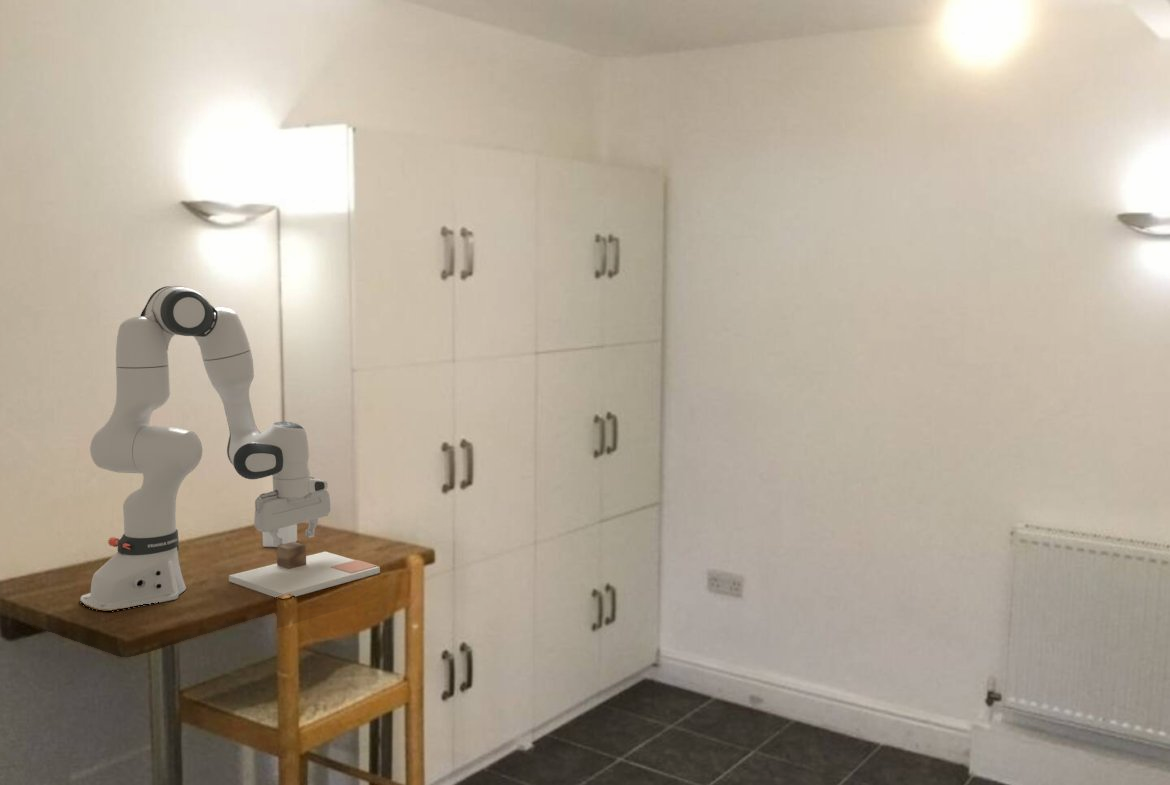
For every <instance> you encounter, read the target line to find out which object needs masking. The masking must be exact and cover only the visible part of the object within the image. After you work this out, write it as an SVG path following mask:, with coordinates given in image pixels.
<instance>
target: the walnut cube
mask: <svg viewBox="0 0 1170 785" xmlns="http://www.w3.org/2000/svg"><path fill="white" fill-rule="evenodd" d="M306 556H307V545H306V544H303V543H300V542H297V541H296V542H290V543H286V544H282V545H281V546H277V547H276V560H277V561H276V564H277V565H278V566H281V567H284V568H287V569H292V568H295V567H299V566H303V565H306Z"/></svg>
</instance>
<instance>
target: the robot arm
mask: <svg viewBox="0 0 1170 785" xmlns="http://www.w3.org/2000/svg"><path fill="white" fill-rule="evenodd" d="M243 325H244V324H243V323H242V321H241V319H240V317H239V315H238V313H237V312H236V311H234V310H233V309H231V308H228V307H214V306H213V305H212V304H211V303H210V301H208V300H207V299H206V297H205V296H204V295H202V294H201V293H200V292H199V291H196V290H195V289H192V288H190V287H189V288H188V287H186V286H183V285H182V286H181V285H168V286H167V285H166V286H163V287H161V288H159V289H157V290H155V291H154V292H153V293H152V294H151V295H150V297H149V298H148V300H147V302H146V304H145V306H144V308H143V309H142V311H141V313H140V316H132V317H130V318H128V319H125V320H124V321H122V323H121V324H120V325H119V327H118V332H117V337H116V346H115V369H116V370H115V371H116V372H115V373H116V374H115V376H116V398H115V404H114V407H113V412H112V413H111V415H110V417H109V419H108V420H107V422H106V423H105V424H104V425H103V426H102V427H101V428H100V429H98V431H96V433H95V434H94V436H93V437H92V439H91V442H90V445H89V446H90V447H89V448H90V449H89V452H90V456H91V459H92V461H93V463H94V464H95V466H97V468H100V469H102V470H107V471H110V472H114V473H118V474H121V473H122V474H123V473H124V474H142V476H143V478H142V484H141V487H140V488H138V489H137V490H135V491H133V492H131V493H130V494H129V495H128V496H127V497H126V498H125V500H124V501H123V504H122V511H123V513H122V514H123V530H124V531H123V532H124V533H123V534H122V536H121V538H120V539H119V537H118V538H116V537H114V536H112V537H111V536H110V538H108V540H107V543H108V545H109V546H111V547H114V548H117V550H116V551H117V552H116V553H115V554H114V555H112V556H111V557H110V559H108V560H107V561H106V562H105V563H104V564H103V565H102V566H101V567H99V569H98V570H96V571H95V572H94V573H93V575H92V580H91V584H90V592H88V593H85V594H82V595H81V596H80V601H82V602H83V603H84V604H86V605H89V606H91V607H94V608H98V609H108V610H112V609H117V608H125V607H130V606H136V605H143V604H149V605H152V604H151V603H154V604H158V602H159V603H164V602H169V601H173V600H177V599H178V598H179V596H180V595H181V594H183V592H185V590H186V589H187V586H186V584H185V580H184V578H183V574H182V571H181V566H180V561H179V560H180V559H179V553H178V552H179V546H180V545H179V530H178V529H177V527H176V526H177V525H176V510H177V509H176V507H177V506H176V503H177V497H178V496H177V495H178V492H179V489H180V486H182V483H183V481H184V480H185V479H186V477H187V476H188V475H189V474H190V473H191V472H193V471H194V470H195V469H197V467H198V466H199V464H200V462H201V460H202V457H203V445H202V442H201V439H200V438H199V436H198V435H197V433H195V432H194V431H192V430H188V429H185V428H181V427H176V426H159V425H158V426H156V425H155V426H154V425H150V422H151V421H150V420H151V415H152V414H153V412H154V411H156V410H157V409H159V408H161V407H163V406H164V405H165V404H166V402H167V401H168V400H169V398H170V394H171V392H170V391H171V390H170V370H169V366H170V365H169V355H168V351H169V345H170V342H171V340H172V338H173V337H174V336H183V337H193V338H194V339H195V340H196V342H197V345H198V346H199V350H200V354H201V358H202V362H203V366H204V369H205V372H206V374H207V376H208V379H209V380H210V381H209V382H210V383H211V385H212V387H213V388H214V390H215V391H216V393H218V395H219V397H220V399H221V401H222V404H223V408H224V413H225V417H226V421H227V425H228V431H229V437H228V440H227V441H228V442H227V446H226V452H227V459H228V461H229V462H230V463H231V464H232V466H233V468H234V470H235V471H236V472H237V473H238V475H239V476H241V477H242V478H244V479H248V480H258V479H263V478H267V477H270V476H272V491H269V492H265V493H261V494H259V496H258V497H256V499H255V501H254V520H253V522H254V523H253V525H254V528H255V529H256V530H257V531H258V532H268V531H269V534H270V535H271V537H272V538H273V544H274V546H281V545H282V544H283V543H282V541H283V540H282V538H279V537H278V536H277V534H276V533H278V529H280V528H283V527H287V526H291V525H295V524H297V525H298V524H302V523H305V522H308V523H309V524H308V527H307V529H305V537H307V538H312V537H313V538H314V537H315V529H316V528H317V525H318V523H319V519H321V518H325V517H328V516H329V514H330V512H331V500H330V494H329V492H328V490H327V489H328V486H329V485H328V481H327V480H323V479H321V478H320V479H319V478H315V477H312V476H311V473H310V470H309V467H308V462H309V457H310V455H309V454H310V452H309V442H308V436H307V433H306V430H305V428H303V426H301V425H300V424H299V423H296V422H289V421H277V422H274V423H273V424H272V425H271V426H269V427H268V428H266V430H264V431H262V432H261V431H259V429H258V427H257V425H256V420H255V417H254V412H253V408H252V404H251V400H250V388H251V384H252V382H253V380H254V376H255V374H254V373H255V372H254V371H255V370H254V360H253V355H252V354H253V353H252V350H251V345H250V342H249V340H248V336H247V334H246V331H245V328H244V326H243ZM143 606H144V605H143Z"/></svg>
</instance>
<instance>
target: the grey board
mask: <svg viewBox="0 0 1170 785" xmlns="http://www.w3.org/2000/svg"><path fill="white" fill-rule="evenodd" d="M380 572H381V567H380V566H378V565H376V564H373V563H369V562H366V561H364V560H363V561H362V560H360V559H353V558H349V557H345V556H343V555H339V554H335V553H331V552H329V551H322V552H317V553H314V554H309V555H306V565H303V566H299V567H295V568H292V569H287V568H284V567H281V566H278V565H277V563H273V564H269V565H266V566H261V567H257V568H252V569H249V570H245V571H241V572H237V573H233V574H229V575H228V581H229V583H233V584H235V585H238V586H241V587H244V588H247V589H250V590H253V591H254V592H259V593H261V594H264V595H267V596H269V597H274V598H276V597H278V596H281V595H287V594H291V595H294V596H295V597H299V596H303V595H306V594H307V595H308V594H310V593H314V592H317V591H321V590H323V589H327V588H330V587H331V588H332V587H335V586H338V585H339V586H340V585H341V584H345V583H350V582H352V581H355V580H361V579H364V578H367V577H370V576H374V575H378V574H381V573H380ZM295 597H294V598H295ZM276 599H277V598H276Z"/></svg>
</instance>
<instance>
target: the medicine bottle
mask: <svg viewBox="0 0 1170 785" xmlns="http://www.w3.org/2000/svg"><path fill="white" fill-rule="evenodd" d="M276 534H277V536H278V537H279V538H282V540H283V541H282V543H283V544H286V543H290V542H297V541H298V524H295V525H291V526H287V527H283V528H280V529H278V533H276ZM262 547H264V548H277V546H274V544H273V538H272V537H271V535H270V534H269V531H268V532H262Z"/></svg>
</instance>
